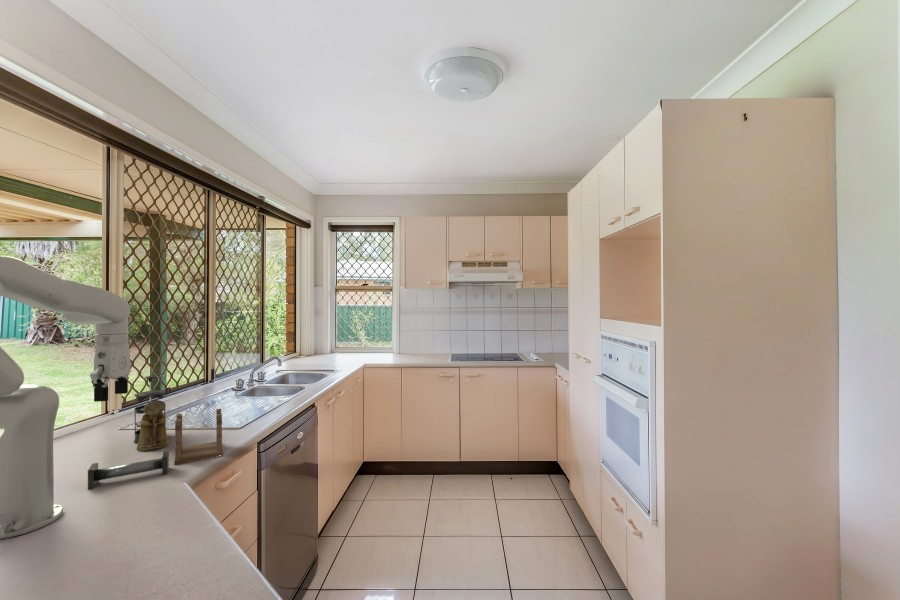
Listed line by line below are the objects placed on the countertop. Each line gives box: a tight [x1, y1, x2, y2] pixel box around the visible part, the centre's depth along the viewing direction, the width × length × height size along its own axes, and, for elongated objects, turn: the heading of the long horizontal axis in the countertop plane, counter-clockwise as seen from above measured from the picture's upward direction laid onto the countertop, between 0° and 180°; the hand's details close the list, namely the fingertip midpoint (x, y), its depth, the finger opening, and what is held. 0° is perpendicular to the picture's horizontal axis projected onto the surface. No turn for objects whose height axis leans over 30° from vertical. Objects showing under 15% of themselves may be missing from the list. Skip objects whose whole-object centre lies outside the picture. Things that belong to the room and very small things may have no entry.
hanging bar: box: [87, 450, 170, 490], centre depth 112 cm, size 5×17×5 cm, turn 122°
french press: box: [133, 375, 166, 445], centre depth 143 cm, size 12×9×23 cm
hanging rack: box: [173, 408, 224, 466], centre depth 129 cm, size 12×13×13 cm
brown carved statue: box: [136, 399, 170, 452], centre depth 134 cm, size 9×14×18 cm, turn 41°
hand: (111, 397), depth 117 cm, fingers open, 9 cm apart
